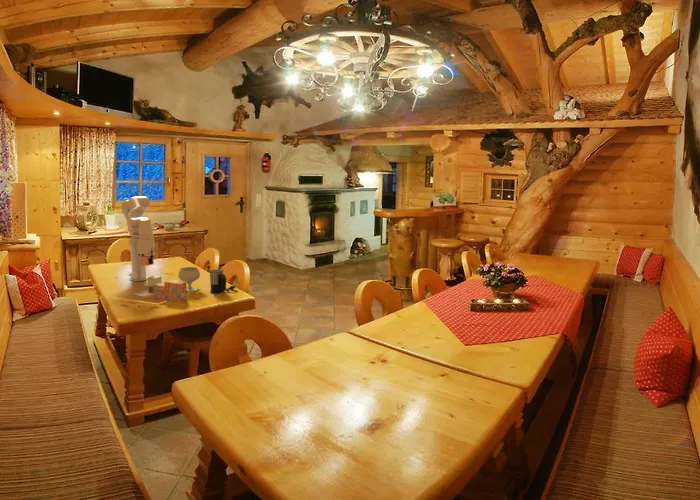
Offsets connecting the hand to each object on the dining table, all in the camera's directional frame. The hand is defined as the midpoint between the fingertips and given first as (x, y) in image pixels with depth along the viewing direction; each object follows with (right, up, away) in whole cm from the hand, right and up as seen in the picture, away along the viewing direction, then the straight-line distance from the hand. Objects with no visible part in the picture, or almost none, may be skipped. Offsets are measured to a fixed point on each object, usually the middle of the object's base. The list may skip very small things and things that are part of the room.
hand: (146, 263), depth 337 cm
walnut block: (+8, -19, -6) cm, 21 cm away
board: (+7, -20, -10) cm, 23 cm away
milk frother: (+52, -19, 0) cm, 56 cm away
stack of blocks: (+24, -23, -21) cm, 39 cm away
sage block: (+8, -15, -7) cm, 18 cm away
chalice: (+29, -19, +1) cm, 35 cm away
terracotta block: (0, -1, 0) cm, 1 cm away
